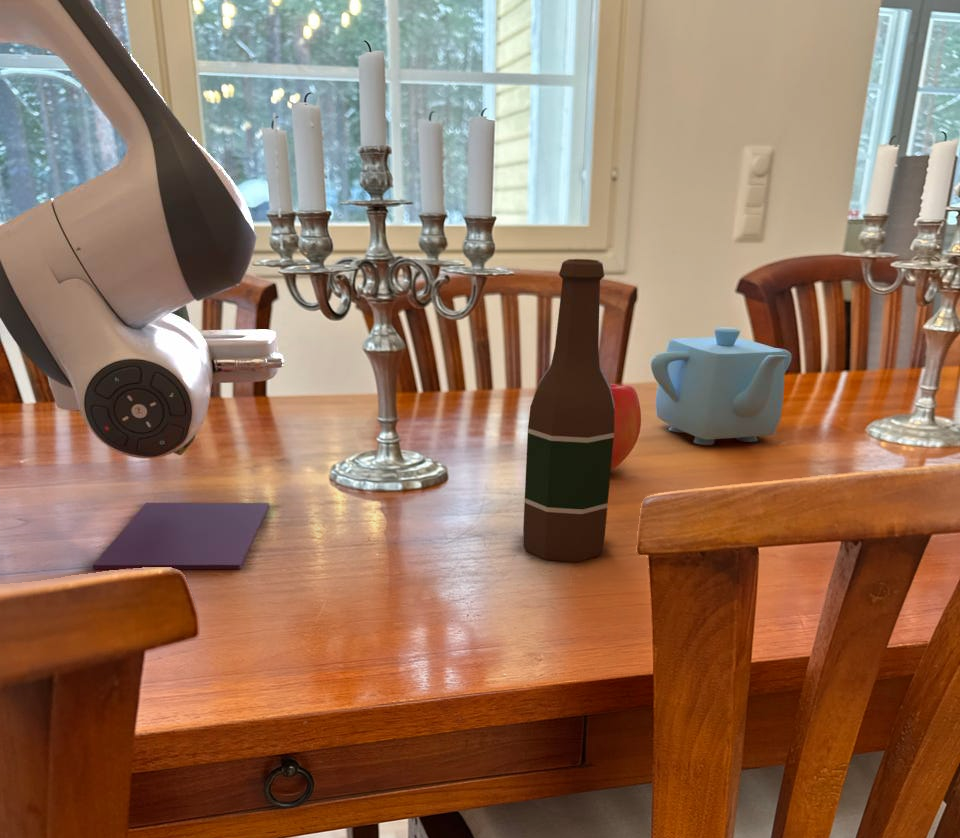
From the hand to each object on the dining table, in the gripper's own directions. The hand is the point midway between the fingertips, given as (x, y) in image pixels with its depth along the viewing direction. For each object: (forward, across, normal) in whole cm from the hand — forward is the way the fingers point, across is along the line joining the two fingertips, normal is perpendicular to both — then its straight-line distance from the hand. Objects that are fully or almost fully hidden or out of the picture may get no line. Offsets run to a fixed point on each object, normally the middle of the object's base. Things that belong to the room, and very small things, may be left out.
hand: (170, 342), depth 87 cm
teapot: (+11, -66, +15) cm, 69 cm away
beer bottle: (-23, -34, +15) cm, 43 cm away
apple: (0, -45, +15) cm, 47 cm away
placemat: (-14, -1, +15) cm, 20 cm away
